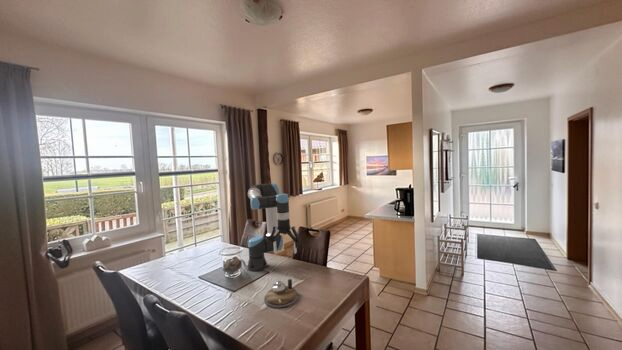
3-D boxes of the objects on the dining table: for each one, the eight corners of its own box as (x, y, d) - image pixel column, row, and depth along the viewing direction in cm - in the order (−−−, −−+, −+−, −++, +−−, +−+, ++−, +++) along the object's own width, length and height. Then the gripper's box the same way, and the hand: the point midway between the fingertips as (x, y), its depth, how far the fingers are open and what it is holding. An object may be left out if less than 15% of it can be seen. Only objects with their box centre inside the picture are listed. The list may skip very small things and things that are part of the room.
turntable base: (261, 294, 153) (261, 292, 153) (292, 286, 161) (291, 285, 161) (268, 312, 135) (268, 309, 134) (303, 302, 142) (303, 300, 142)
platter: (263, 292, 152) (262, 282, 152) (290, 285, 159) (290, 276, 159) (270, 308, 136) (269, 296, 135) (300, 299, 143) (300, 288, 142)
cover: (271, 289, 154) (270, 281, 153) (283, 285, 157) (283, 278, 157) (274, 295, 146) (274, 286, 146) (287, 291, 150) (286, 283, 149)
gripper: (262, 219, 154) (264, 253, 155) (300, 220, 148) (302, 255, 149) (267, 217, 161) (269, 249, 163) (304, 217, 155) (306, 251, 156)
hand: (285, 252), depth 156 cm, fingers open, 13 cm apart
